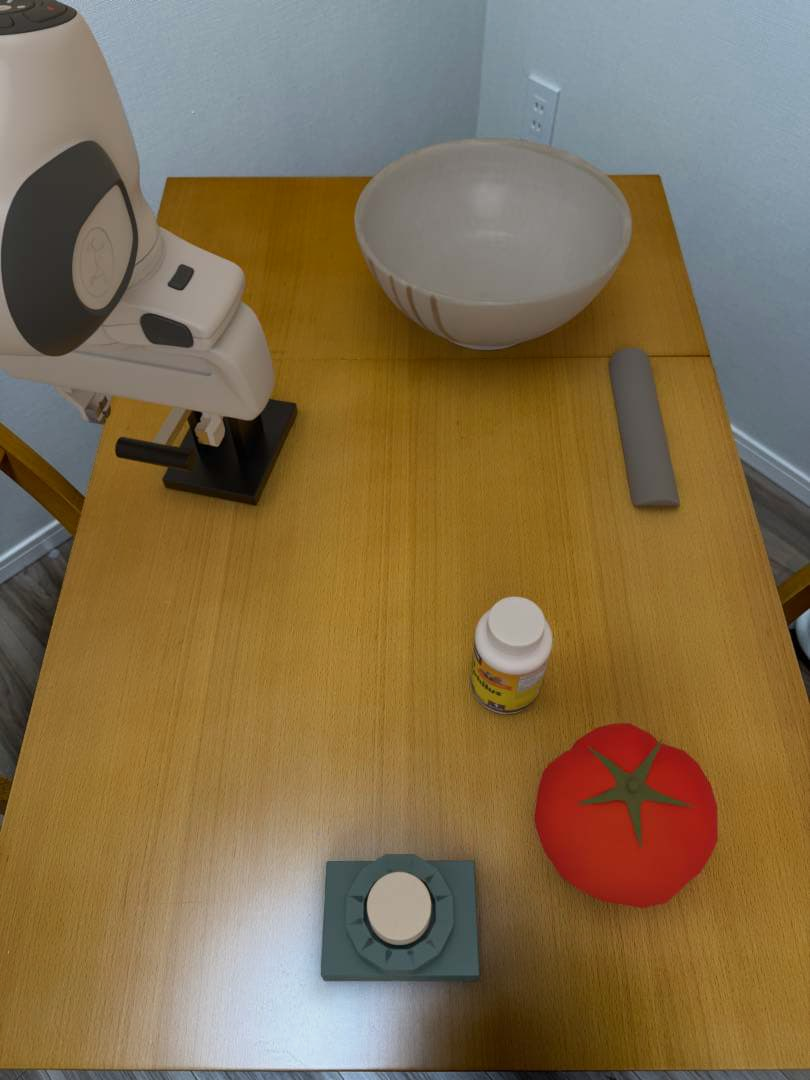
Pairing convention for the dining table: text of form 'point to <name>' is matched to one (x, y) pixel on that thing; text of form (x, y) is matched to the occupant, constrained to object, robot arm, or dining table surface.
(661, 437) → the gray half cylinder
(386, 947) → the push button box
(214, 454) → the lever stand
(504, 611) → the supplement bottle
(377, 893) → the beige push button
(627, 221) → the decorative bowl
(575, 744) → the tomato
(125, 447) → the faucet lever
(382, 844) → the dining table surface
